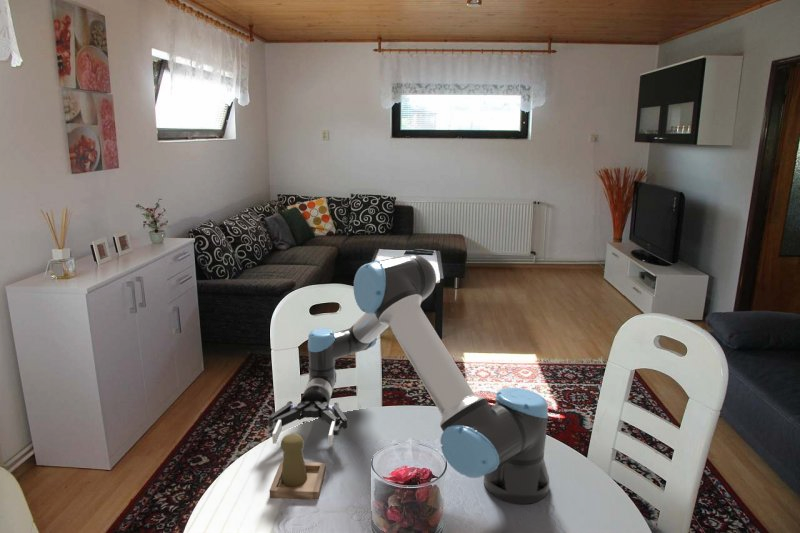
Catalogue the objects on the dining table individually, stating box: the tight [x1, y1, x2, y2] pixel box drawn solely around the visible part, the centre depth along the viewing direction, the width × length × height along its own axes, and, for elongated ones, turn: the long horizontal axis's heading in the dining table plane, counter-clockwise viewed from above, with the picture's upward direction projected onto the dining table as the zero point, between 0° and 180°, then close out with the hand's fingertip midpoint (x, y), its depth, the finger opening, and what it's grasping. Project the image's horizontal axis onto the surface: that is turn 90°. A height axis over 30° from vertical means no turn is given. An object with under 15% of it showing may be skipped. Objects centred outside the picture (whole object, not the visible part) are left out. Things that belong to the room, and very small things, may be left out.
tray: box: [269, 461, 327, 501], centre depth 133 cm, size 11×11×2 cm
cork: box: [280, 433, 307, 487], centre depth 132 cm, size 6×6×11 cm
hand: (301, 439), depth 137 cm, fingers open, 13 cm apart
